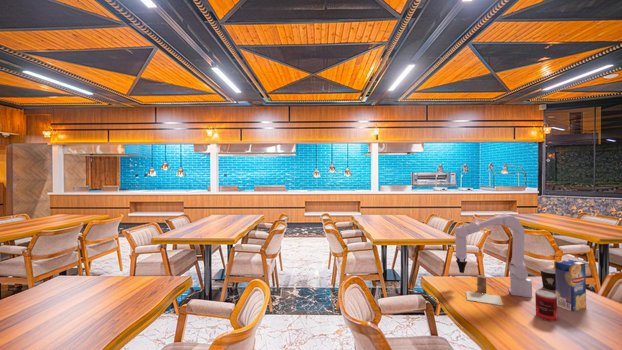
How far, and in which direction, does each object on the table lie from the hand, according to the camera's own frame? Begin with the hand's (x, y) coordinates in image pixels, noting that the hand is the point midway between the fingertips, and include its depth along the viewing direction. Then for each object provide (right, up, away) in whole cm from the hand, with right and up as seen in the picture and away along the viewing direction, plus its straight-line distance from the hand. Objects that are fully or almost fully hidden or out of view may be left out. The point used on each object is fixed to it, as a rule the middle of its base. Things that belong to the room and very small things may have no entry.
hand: (461, 270), depth 165 cm
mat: (+4, -10, -14) cm, 18 cm away
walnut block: (+8, -10, -6) cm, 14 cm away
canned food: (+21, -10, -34) cm, 42 cm away
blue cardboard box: (+42, -10, -25) cm, 49 cm away
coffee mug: (+51, -10, -3) cm, 52 cm away
